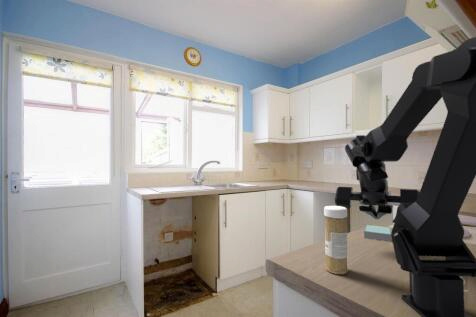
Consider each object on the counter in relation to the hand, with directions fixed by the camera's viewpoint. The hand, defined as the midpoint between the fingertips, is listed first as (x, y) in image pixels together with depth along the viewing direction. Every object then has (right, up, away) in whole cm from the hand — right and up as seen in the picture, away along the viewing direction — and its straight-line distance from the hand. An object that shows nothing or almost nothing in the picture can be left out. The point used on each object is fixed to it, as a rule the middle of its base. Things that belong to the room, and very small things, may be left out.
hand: (377, 217), depth 65 cm
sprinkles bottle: (-18, -7, -15) cm, 25 cm away
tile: (+2, -7, +4) cm, 8 cm away
